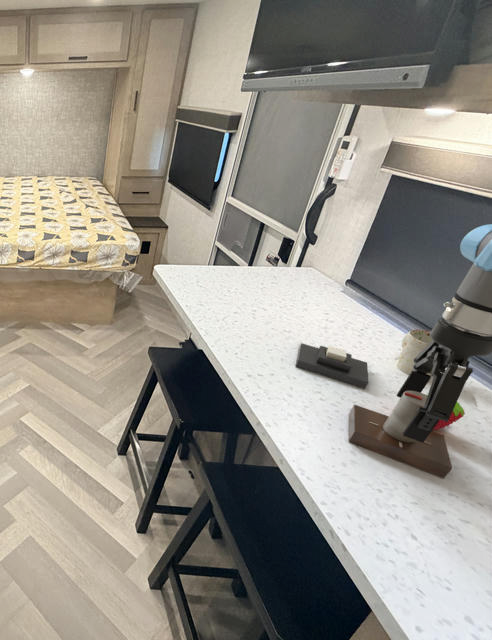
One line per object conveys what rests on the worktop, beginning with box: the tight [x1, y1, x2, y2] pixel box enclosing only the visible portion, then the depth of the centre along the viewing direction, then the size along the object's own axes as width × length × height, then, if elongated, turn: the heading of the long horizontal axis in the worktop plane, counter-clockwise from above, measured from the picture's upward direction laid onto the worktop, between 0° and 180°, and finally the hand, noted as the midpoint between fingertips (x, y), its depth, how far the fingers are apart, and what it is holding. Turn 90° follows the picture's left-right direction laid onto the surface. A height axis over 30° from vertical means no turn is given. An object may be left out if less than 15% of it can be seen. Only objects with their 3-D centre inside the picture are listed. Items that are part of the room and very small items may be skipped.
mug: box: [396, 329, 432, 376], centre depth 102 cm, size 8×13×10 cm, turn 163°
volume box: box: [348, 404, 453, 479], centre depth 81 cm, size 14×10×3 cm
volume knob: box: [383, 391, 428, 443], centre depth 78 cm, size 5×5×9 cm
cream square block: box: [326, 345, 347, 362], centre depth 101 cm, size 4×4×2 cm
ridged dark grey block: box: [294, 342, 369, 390], centre depth 103 cm, size 14×10×4 cm
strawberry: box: [432, 401, 466, 431], centre depth 83 cm, size 6×7×10 cm
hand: (408, 417), depth 78 cm, fingers open, 13 cm apart
